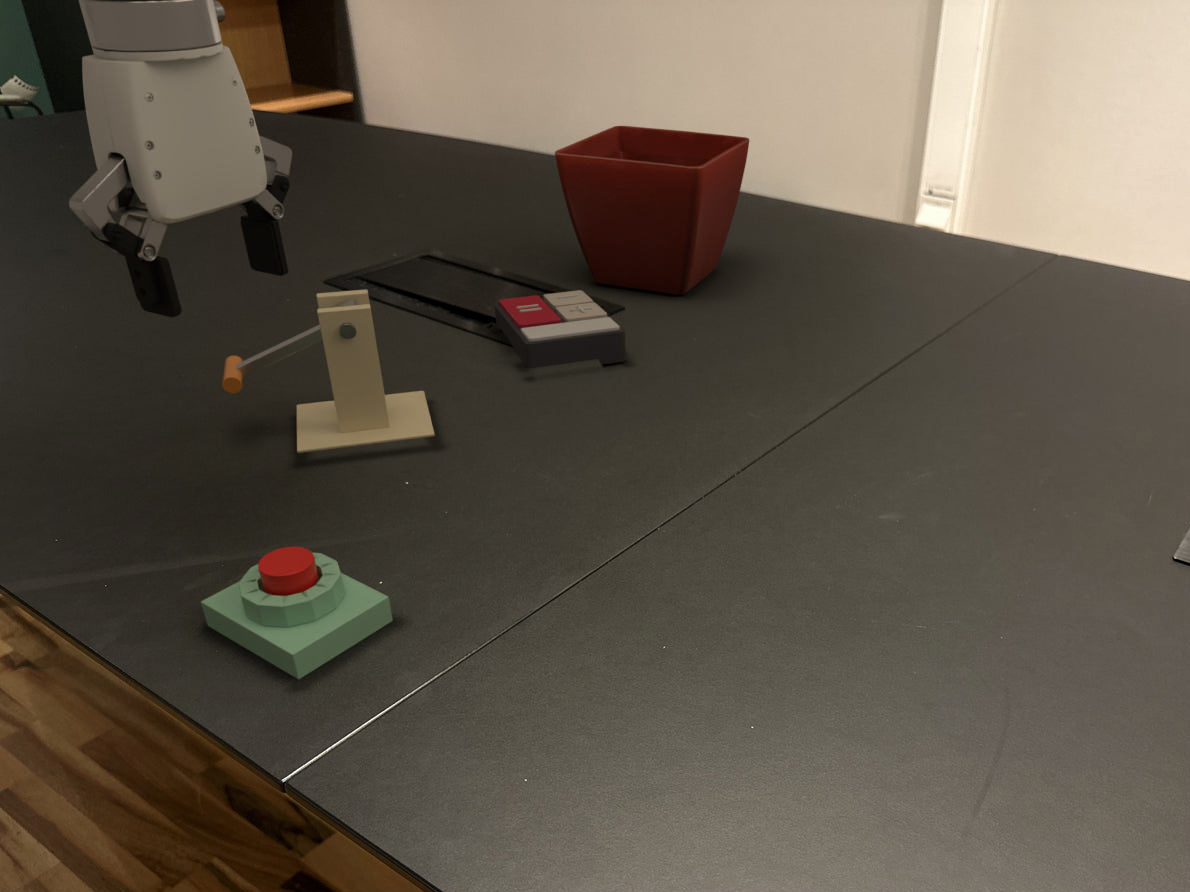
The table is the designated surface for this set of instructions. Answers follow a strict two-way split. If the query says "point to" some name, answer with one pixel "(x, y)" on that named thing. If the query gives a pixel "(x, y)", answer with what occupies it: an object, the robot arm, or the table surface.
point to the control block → (298, 617)
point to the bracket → (356, 385)
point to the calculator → (560, 329)
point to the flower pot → (652, 203)
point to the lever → (269, 356)
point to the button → (288, 571)
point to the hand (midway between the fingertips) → (218, 291)
